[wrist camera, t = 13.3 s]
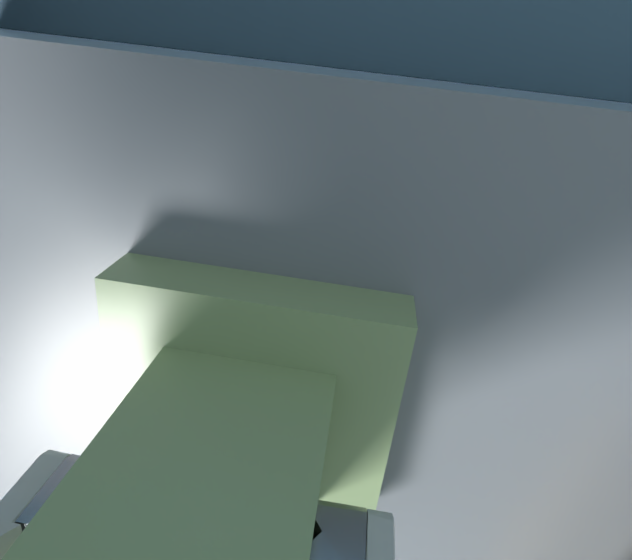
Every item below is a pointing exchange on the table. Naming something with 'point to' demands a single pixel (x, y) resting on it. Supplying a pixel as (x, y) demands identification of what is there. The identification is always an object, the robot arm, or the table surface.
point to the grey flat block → (343, 263)
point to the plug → (228, 414)
